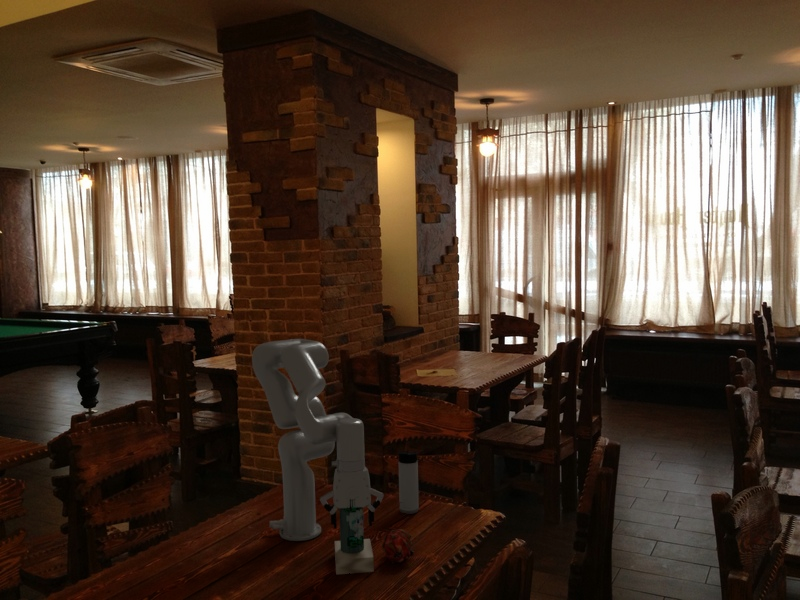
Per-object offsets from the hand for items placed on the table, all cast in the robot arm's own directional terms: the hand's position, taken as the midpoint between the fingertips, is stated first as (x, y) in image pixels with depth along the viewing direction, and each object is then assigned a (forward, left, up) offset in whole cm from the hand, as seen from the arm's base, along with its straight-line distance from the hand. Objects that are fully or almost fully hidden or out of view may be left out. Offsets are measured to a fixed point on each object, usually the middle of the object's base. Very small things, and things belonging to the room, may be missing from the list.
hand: (352, 525), depth 191 cm
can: (0, 0, -7) cm, 7 cm away
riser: (0, 0, -11) cm, 11 cm away
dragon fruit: (+12, 0, -11) cm, 16 cm away
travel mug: (+20, +35, -11) cm, 42 cm away
